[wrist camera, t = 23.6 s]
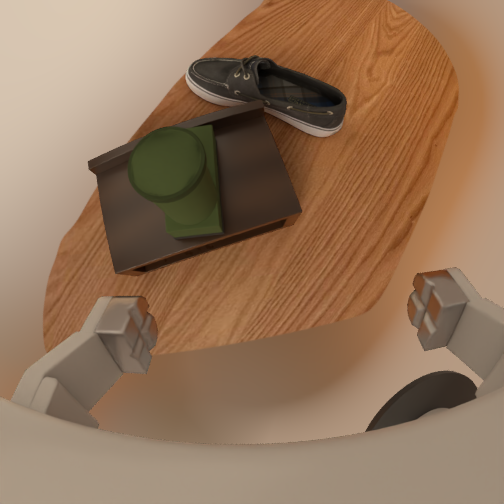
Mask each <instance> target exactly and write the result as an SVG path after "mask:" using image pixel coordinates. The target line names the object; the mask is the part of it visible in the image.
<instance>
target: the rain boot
mask: <svg viewBox="0 0 504 504" xmlns="http://www.w3.org/2000/svg"><path fill="white" fill-rule="evenodd" d="M128 178H129V181H130V183H131V185H132V187H133V188H134V190H135V191H136V192H137V193H138V194H140V195H141V196H142V197H143V198H145V199H147V200H149V201H151V202H153V203H154V204H155V205H157V206H158V207H159V208H160V209H161V210H162V211H164V212H165V224H166V232H167V233H168V234H170V235H171V236H173V238H174V239H175V240H177V239H186V238H195V237H204V236H213V235H222V234H224V224H223V212H222V201H221V188H220V176H219V163H218V149H217V139H216V138H215V135H214V131H213V127H212V125H206V126H199V127H192V128H181V127H175V126H170V127H163V128H159V129H157V130H154V131H152V132H150V133H149V134H147V135H146V136H145V137H143V138H142V139H141V140H140V141H139V142H138V143H137V145H136V146H135V147H134V149H133V151H132V153H131V155H130V158H129V161H128Z"/></svg>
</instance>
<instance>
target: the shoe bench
mask: <svg viewBox="0 0 504 504" xmlns="http://www.w3.org/2000/svg"><path fill="white" fill-rule="evenodd" d="M206 125H212V127H213V131H214V135H215V138H216V139H217V149H218V163H219V176H220V188H221V201H222V212H223V224H224V234H222V235H213V236H204V237H195V238H186V239H177V240H175V239H174V238H173V236H171V235H170V234H168V233H167V232H166V224H165V212H164V211H162V210H161V209H160V208H159V207H158V206H157V205H155V204H154V203H153V202H151V201H149V200H147V199H145V198H143V197H142V196H141V195H140V194H138V193H137V192H136V191H135V190H134V188H133V187H132V185H131V183H130V181H129V178H128V161H129V158H130V155H131V153H132V151H133V149H134V147H135V146H136V145H137V143H138V142H139V141H140V140H141V139H142V138H143V137H142V138H139V139H137V140H134V141H132V142H129V143H127V144H125V145H122V146H120V147H118V148H116V149H113V150H111V151H109V152H107V153H105V154H102V155H100V156H98V157H96V158H94V159H92V160H90V161H88V166H89V170H90V171H92V172H93V173H94V174H96V176H97V184H98V190H99V197H100V203H101V209H102V214H103V220H104V225H105V230H106V235H107V240H108V244H109V249H110V253H111V257H112V262H113V266H114V270H115V274H121V275H131V276H140V275H143V274H146V273H149V272H152V271H155V270H158V269H160V268H163V267H166V266H169V265H172V264H175V263H178V262H181V261H184V260H187V259H190V258H193V257H196V256H199V255H202V254H205V253H208V252H211V251H214V250H217V249H220V248H223V247H226V246H230V245H233V244H236V243H239V242H242V241H245V240H248V239H251V238H254V237H257V236H260V235H263V234H266V233H269V232H273V231H276V230H279V229H282V228H285V227H288V226H291V225H294V223H295V222H296V220H297V219H298V217H299V216H300V214H301V213H302V209H301V207H300V204H299V201H298V199H297V196H296V194H295V191H294V188H293V186H292V183H291V181H290V178H289V175H288V173H287V170H286V168H285V165H284V163H283V160H282V158H281V155H280V153H279V151H278V148H277V146H276V143H275V141H274V138H273V136H272V134H271V131H270V129H269V127H268V124H267V122H266V120H265V117H264V104H263V102H262V100H257V101H253V102H249V103H245V104H241V105H237V106H234V107H230V108H226V109H223V110H219V111H216V112H213V113H209V114H206V115H203V116H200V117H197V118H194V119H191V120H188V121H185V122H182V123H179V124H176V125H173V126H175V127H181V128H192V127H199V126H206ZM144 137H145V136H144Z"/></svg>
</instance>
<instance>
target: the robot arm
mask: <svg viewBox="0 0 504 504" xmlns="http://www.w3.org/2000/svg"><path fill="white" fill-rule="evenodd" d="M413 286H414V288H415V290H414V291H413V292H412V293H411V295H410V296H409V300H408V304H407V306H408V316H409V319H410V321H411V324H412V325H413V326H415V327H416V328H418V329H419V330H418V333H417V336H418V338H419V340H420V342H421V345H422V347H423V349H424V351H427V350H432V349H436V348H441V347H445V346H447V349H449V350H450V351H451V352H452V353H453V354H454V355H456V356H457V357H458V358H459V359H460V360H461V361H463V362H464V363H465V364H466V365H467V366H468V367H469V368H470V369H472V370H473V371H474V372H475V373H476V374H477V375H478V376H479V377H481V378H482V379H483V380H484V382H483V383H482V384H481V385H480V387H479V388H478V389H477V391H476V393H475V395H476V397H477V398H476V399H474V400H471V401H469V402H466V403H464V404H461V405H459V406H456V407H453V408H450V409H448V408H437V409H434V410H431V411H429V412H427V413H425V414H424V415H422V416H421V417H419V418H418V419H417V420H413V421H410V422H406V423H402V424H398V425H394V426H390V427H386V428H382V429H377V430H373V431H368V432H363V433H358V434H352V435H346V436H340V437H334V438H327V439H320V440H311V441H300V442H288V443H274V444H273V443H272V444H206V443H190V442H178V441H168V440H159V439H152V438H144V437H138V436H132V435H126V434H121V433H115V432H111V431H106V430H101V429H98V426H99V424H98V422H97V420H96V419H95V418H94V417H93V416H92V415H90V413H89V411H90V410H91V409H92V407H93V406H94V405H95V404H96V403H97V402H98V401H99V400H100V399H101V397H103V395H104V394H105V393H106V392H107V391H108V390H109V389H110V388H111V387H112V386H113V385H114V383H115V382H116V381H117V380H118V379H119V378H120V377H121V376H122V375H123V373H122V372H125V373H142V374H144V373H145V374H147V371H148V368H149V365H150V361H151V358H152V356H151V354H150V352H149V351H150V350H151V349H152V348H153V347H154V346H155V345H156V341H157V334H158V329H157V324H156V321H155V318H154V316H152V315H151V314H150V313H148V312H147V310H148V308H149V305H148V302H147V300H146V298H145V297H143V296H102V297H100V298H98V300H97V302H96V303H95V305H94V307H93V309H92V310H91V312H90V314H89V316H88V317H87V319H86V321H85V323H84V325H83V327H82V328H81V330H80V332H75V333H74V334H72V335H71V336H70V337H68V338H67V339H66V340H64V341H63V342H62V343H60V344H59V345H58V346H56V347H55V348H54V349H52V350H51V351H50V352H48V353H47V354H46V355H45V356H43V357H42V358H41V359H39V360H38V361H37V362H35V363H34V364H33V365H32V366H30V367H29V368H28V369H26V370H25V373H24V374H23V376H22V378H21V380H20V382H19V385H18V386H17V388H16V390H15V392H14V395H13V397H12V399H11V401H9V400H7V399H5V398H2V397H0V504H504V308H502V307H500V306H499V305H497V304H495V303H493V302H492V301H490V300H488V299H486V298H485V299H482V297H481V296H480V295H479V293H478V292H477V291H476V289H475V288H474V287H473V285H472V284H471V283H470V282H469V281H468V279H467V278H466V277H465V275H464V274H463V273H462V271H461V270H460V269H458V268H456V267H454V268H448V269H444V270H438V271H431V272H424V273H417V275H416V276H415V278H414V281H413Z"/></svg>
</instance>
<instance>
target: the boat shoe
mask: <svg viewBox="0 0 504 504" xmlns="http://www.w3.org/2000/svg"><path fill="white" fill-rule="evenodd" d="M186 82H187V84H188V86H189V88H190V89H191V90H192V91H193V92H194V93H195V94H197V95H198V96H199V97H201V98H203V99H205V100H206V101H209V102H211V103H214V104H218V105H221V106H231V107H234V106H237V105H241V104H245V103H249V102H253V101H257V100H262V102H263V104H264V112H267V113H269V114H271V115H273V116H275V117H277V118H279V119H281V120H283V121H285V122H287V123H289V124H291V125H292V126H294V127H296V128H298V129H300V130H302V131H304V132H306V133H308V134H311V135H314V136H318V137H327V136H330V135H333V134H335V133H336V132H338V131H339V130H340V129H341V127H342V125H343V120H344V115H345V112H346V104H347V101H346V97H345V96H344V94H343V93H342V92H341V91H340V90H338V89H337V88H335V87H333V86H331V85H329V84H327V83H324V82H322V81H320V80H317V79H315V78H312V77H310V76H308V75H306V74H303V73H300V72H297V71H293V70H291V69H288V68H284V67H282V66H279V65H277V64H276V63H275V62H274V61H272V60H271V59H269V58H260V57H259V56H256V55H255V56H251V57H250V58H243V59H242V60H241V59H234V58H204V59H199V60H197V61H195V62H193V63H192V64H191V65H190V66H189V68H188V69H187V71H186Z"/></svg>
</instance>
